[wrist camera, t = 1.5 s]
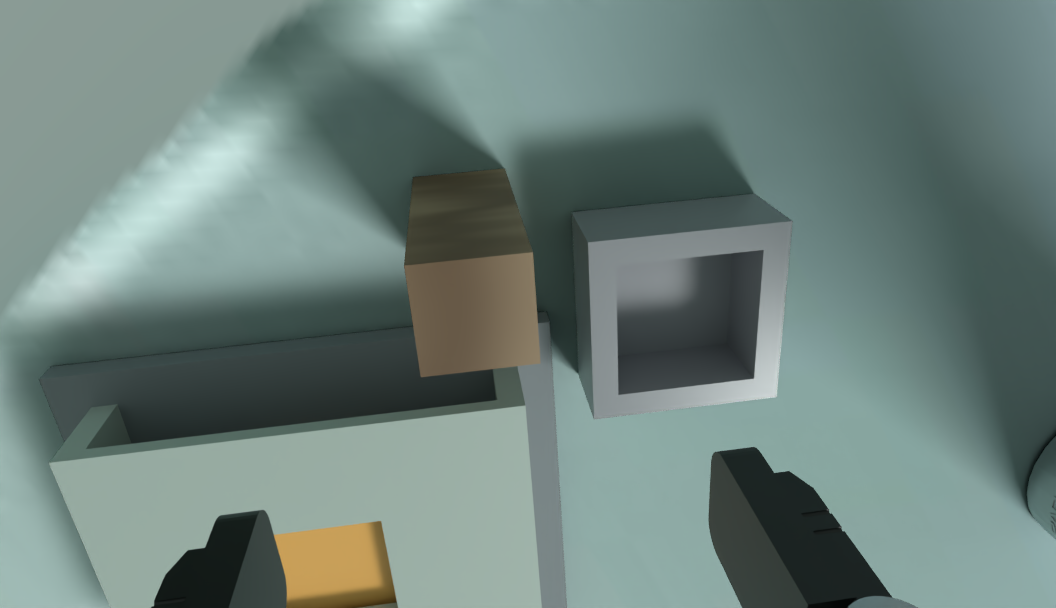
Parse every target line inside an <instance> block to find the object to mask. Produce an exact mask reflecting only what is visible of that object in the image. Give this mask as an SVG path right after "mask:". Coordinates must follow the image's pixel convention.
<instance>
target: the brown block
mask: <svg viewBox="0 0 1056 608" xmlns="http://www.w3.org/2000/svg"><path fill="white" fill-rule="evenodd" d="M404 268H405V275H406V282H407V288H408V295H409V302H410V308H411V315H412V322H413V328H414V335H415V342H416V348H417V355H418V362H419V368H420V375H421V377H428V376H437V375H445V374H454V373H463V372H471V371H480V370H489V369H497V368H506V367H515V366H523V365H532V364H540V348H539V334H538V319H537V304H536V290H535V275H534V260H533V251H532V248H531V245H530V242H529V239H528V236H527V233H526V230H525V227H524V224H523V221H522V218H521V215H520V212H519V209H518V206H517V203H516V200H515V197H514V194H513V192H512V189H511V186H510V183H509V180H508V177H507V174H506V171H505V168H504V169H494V170H483V171H473V172H462V173H452V174H441V175H431V176H420V177H413V182H412V192H411V202H410V212H409V222H408V232H407V242H406V252H405V262H404Z"/></svg>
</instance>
